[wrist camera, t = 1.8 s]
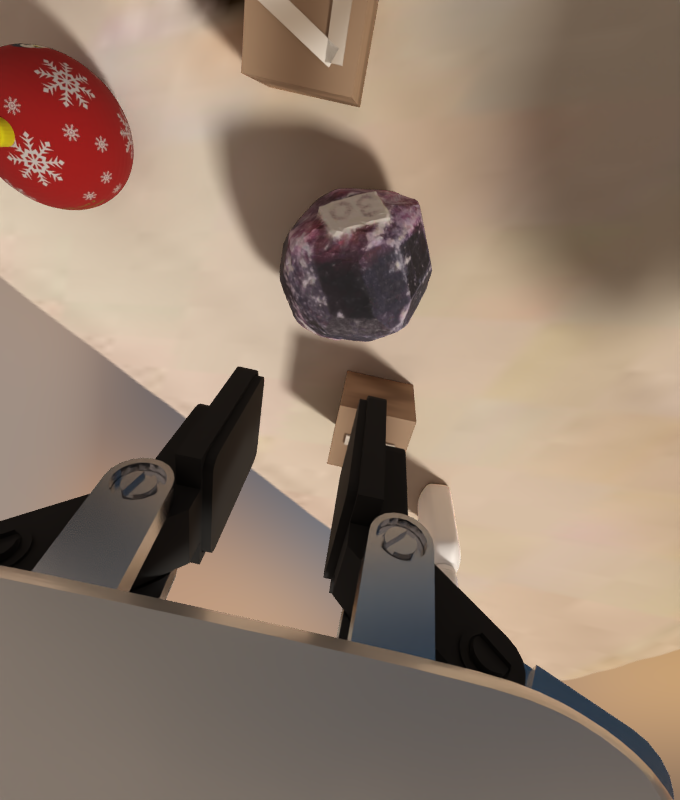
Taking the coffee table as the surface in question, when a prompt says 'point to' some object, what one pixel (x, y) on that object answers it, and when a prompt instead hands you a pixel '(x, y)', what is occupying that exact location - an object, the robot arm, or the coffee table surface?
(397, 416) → the walnut block
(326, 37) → the brown cube
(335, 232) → the mineral specimen
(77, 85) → the christmas ornament
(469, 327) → the coffee table surface
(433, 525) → the eye dropper bottle
